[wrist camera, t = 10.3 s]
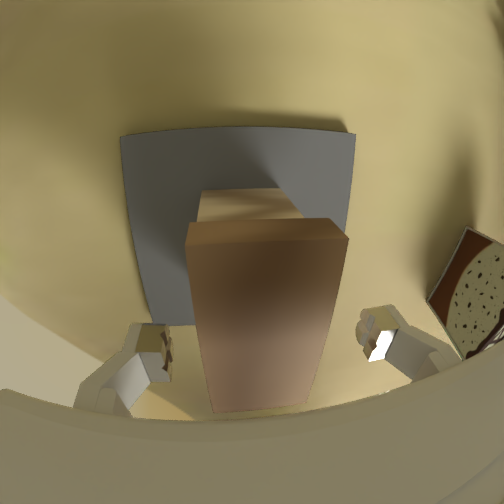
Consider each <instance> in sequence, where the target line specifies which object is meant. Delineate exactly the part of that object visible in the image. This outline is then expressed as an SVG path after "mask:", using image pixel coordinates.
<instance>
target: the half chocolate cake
mask: <svg viewBox="0 0 504 504" xmlns="http://www.w3.org/2000/svg"><path fill="white" fill-rule="evenodd" d="M426 303H427V304H428V306H429V307H430V309H431V310H432V312H433V313H434V315H435V316H436V318H437V319H438V321H439V322H440V324H441V325H442V327H443V329H444V330H445V332H446V333H447V335H448V336H449V338H450V340H451V341H452V343H453V345H454V346H455V348H456V350H457V351H458V353H459V355H460V357H461V358H462V362H463V361H465V360H467V359H469V358H471V357H473V356H475V355H476V354H478V353H480V352H482V351H484V350H486V349H488V348H489V347H491V346H493V345H495V344H496V343H498V342H500V341H502V340H504V245H503V244H501V243H499V242H497V241H496V240H494V239H492V238H490V237H488V236H486V235H484V234H482V233H480V232H478V231H476V230H474V229H472V228H470V227H468V226H466V227H465V230H464V232H463V234H462V236H461V238H460V241H459V243H458V245H457V247H456V249H455V251H454V253H453V255H452V257H451V259H450V261H449V262H448V264H447V266H446V268H445V270H444V272H443V274H442V275H441V277H440V279H439V281H438V282H437V284H436V286H435V288H434V289H433V291H432V293H431V294H430V296H429V297H428V299H427V301H426Z"/></svg>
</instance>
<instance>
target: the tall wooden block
mask: <svg viewBox="0 0 504 504" xmlns="http://www.w3.org/2000/svg"><path fill="white" fill-rule="evenodd" d="M348 241H349V238H348V237H347V236H346V235H345V234H344V233H343V231H342V230H341V229H340V228H339V227H338V226H337V225H336V224H335V223H334V222H333V221H332V220H331V219H330V218H304V216H303V215H302V214H301V213H300V212H299V210H298V209H297V208H296V207H295V205H294V204H293V203H292V202H291V201H290V199H289V198H288V197H287V196H286V195H285V193H284V192H283V191H282V190H281V189H280V188H254V189H221V190H202V193H201V198H200V204H199V210H198V216H197V222H190V223H189V228H188V232H187V237H186V242H185V252H186V260H187V268H188V276H189V283H190V290H191V297H192V304H193V311H194V317H195V323H196V329H197V335H198V341H199V346H200V352H201V357H202V362H203V367H204V372H205V377H206V382H207V387H208V392H209V396H210V401H211V405H212V410H213V413H222V412H238V411H250V410H259V409H268V408H276V407H283V406H290V405H296V404H302V403H306V402H307V399H308V396H309V393H310V390H311V387H312V384H313V381H314V378H315V375H316V372H317V368H318V365H319V362H320V359H321V355H322V352H323V348H324V345H325V341H326V338H327V334H328V330H329V327H330V323H331V319H332V315H333V311H334V307H335V303H336V299H337V294H338V290H339V285H340V281H341V276H342V272H343V267H344V262H345V257H346V252H347V246H348Z"/></svg>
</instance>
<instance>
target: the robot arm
mask: <svg viewBox="0 0 504 504" xmlns="http://www.w3.org/2000/svg"><path fill="white" fill-rule="evenodd" d="M360 318H361V320H360V321H359V322H358V323H357V326H356V338H357V341H358V343H359V344H360V345H362V346H364V348H363V352H364V354H365V356H366V357H367V359H368V361H373V360H377V359H382V358H384V359H385V360H386V361H388V362H389V363H390V364H392V365H393V366H394V367H396V368H397V369H398V370H400V371H401V372H402V373H404V374H405V375H406V376H408V377H409V378H410V379H412V381H411V383H410V384H408V385H405V386H402V387H399V388H396V389H393V390H390V391H387V392H384V393H380V394H377V395H374V396H370V397H367V398H363V399H359V400H356V401H352V402H348V403H344V404H339V405H335V406H330V407H326V408H321V409H316V410H310V411H305V412H299V413H292V414H285V415H278V416H270V417H261V418H250V419H236V420H214V421H178V420H156V419H144V418H133V416H132V415H131V413H130V412H129V409H130V408H131V406H132V405H133V404H134V403H135V402H136V400H137V399H138V398H139V397H140V395H141V394H142V393H143V392H144V391H145V389H146V388H147V387H148V386H149V384H150V383H151V382H171V374H172V367H171V364H170V363H171V362H172V361H173V356H174V353H173V342H172V339H171V338H170V337H169V332H170V330H169V326H168V324H156V323H132V324H131V325H130V327H129V330H128V333H127V336H126V339H125V342H124V346H123V349H122V352H117V353H116V354H115V355H114V356H113V357H111V358H110V359H109V360H108V361H107V362H105V363H104V364H103V365H102V366H101V367H100V368H98V369H97V370H96V371H95V372H94V373H92V374H91V375H90V376H89V377H88V378H86V379H85V380H84V381H83V382H82V383H81V384H80V387H79V390H78V393H77V396H76V399H75V402H74V406H73V408H72V407H67V406H63V405H58V404H55V403H51V402H47V401H44V400H40V399H37V398H33V397H30V396H27V395H24V394H21V393H18V392H15V391H13V390H9V389H2V390H0V504H504V340H502V341H500V342H498V343H496V344H495V345H493V346H491V347H489V348H488V349H486V350H484V351H482V352H480V353H478V354H476V355H475V356H473V357H471V358H469V359H467V360H465V361H463V362H462V360H461V359H460V358H459V356H458V355H457V354H456V352H455V351H454V350H453V348H452V347H451V346H450V345H449V344H447V343H445V342H443V341H441V340H439V339H437V338H435V337H433V336H431V335H430V334H428V333H426V332H424V331H422V330H420V329H418V328H416V327H414V326H409V325H408V323H407V322H406V321H405V319H404V318H403V317H402V315H401V314H400V313H399V312H398V310H397V309H396V308H395V306H394V305H392V304H390V305H384V306H379V307H373V308H367V309H363V310H362V311H361V314H360Z"/></svg>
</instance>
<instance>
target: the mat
mask: <svg viewBox="0 0 504 504" xmlns="http://www.w3.org/2000/svg"><path fill="white" fill-rule="evenodd" d="M355 142H356V134H352V133H347V132H338V131H329V130H318V129H306V128H289V127H259V126H235V127H205V128H189V129H176V130H165V131H156V132H148V133H140V134H133V135H126V136H122V137H120V145H121V157H122V168H123V177H124V185H125V193H126V200H127V207H128V213H129V219H130V225H131V231H132V236H133V242H134V247H135V252H136V257H137V261H138V266H139V270H140V275H141V279H142V283H143V287H144V291H145V295H146V299H147V303H148V307H149V310H150V314H151V317H152V321H153V323H156V324H168V326H184V325H196V323H195V317H194V311H193V304H192V297H191V290H190V283H189V276H188V268H187V260H186V252H185V242H186V237H187V232H188V228H189V223H190V222H197V216H198V210H199V204H200V198H201V193H202V190H221V189H254V188H280V189H281V190H282V191H283V192H284V193H285V195H286V196H287V197H288V198H289V199H290V201H291V202H292V203H293V204H294V205H295V207H296V208H297V209H298V210H299V212H300V213H301V214H302V215H303V216H304V218H330V219H331V220H332V221H333V222H334V223H335V224H336V225H337V226H338V227H339V228H340V229H341V230H342V231H343V233H344V232H345V226H346V220H347V213H348V206H349V199H350V191H351V183H352V174H353V164H354V154H355Z"/></svg>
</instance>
